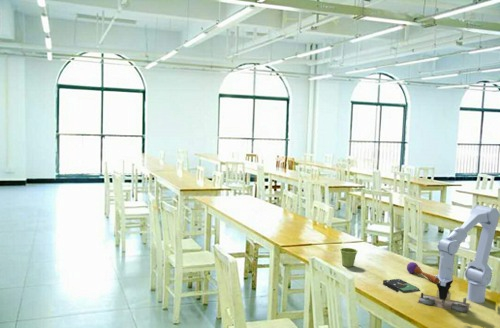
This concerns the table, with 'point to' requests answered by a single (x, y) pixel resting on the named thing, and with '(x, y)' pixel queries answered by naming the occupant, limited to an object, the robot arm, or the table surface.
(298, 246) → the table surface
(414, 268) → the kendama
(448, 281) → the robot arm
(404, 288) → the disk drive
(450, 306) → the gear board
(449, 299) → the brass gear
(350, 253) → the plant pot
